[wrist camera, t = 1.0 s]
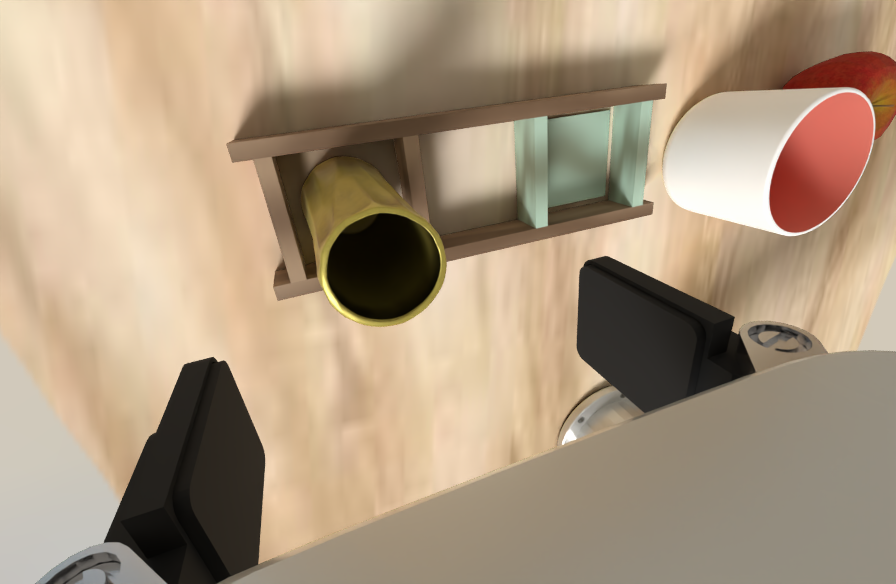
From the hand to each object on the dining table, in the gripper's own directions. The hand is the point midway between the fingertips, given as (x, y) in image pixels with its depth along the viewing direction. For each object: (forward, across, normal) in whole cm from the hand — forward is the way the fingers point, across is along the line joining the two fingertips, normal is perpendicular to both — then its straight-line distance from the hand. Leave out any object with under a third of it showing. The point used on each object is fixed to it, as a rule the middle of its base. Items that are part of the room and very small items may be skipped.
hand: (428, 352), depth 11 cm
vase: (+21, 0, 0) cm, 21 cm away
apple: (+21, -42, -1) cm, 47 cm away
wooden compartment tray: (+21, -9, 0) cm, 23 cm away
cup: (+21, -32, +2) cm, 38 cm away
